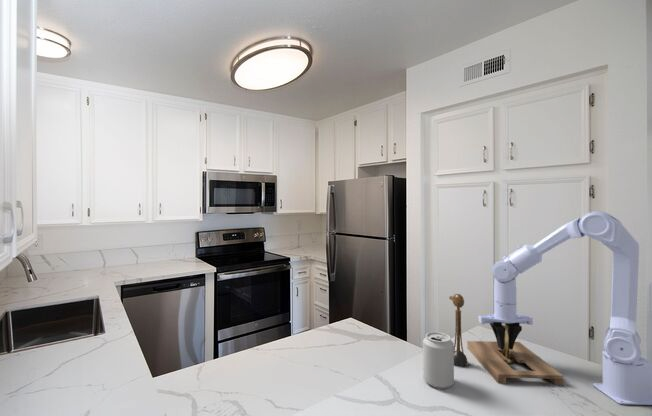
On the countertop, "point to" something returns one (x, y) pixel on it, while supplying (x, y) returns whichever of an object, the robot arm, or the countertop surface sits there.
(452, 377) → the can
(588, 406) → the countertop surface
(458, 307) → the wooden tabletop sculpture
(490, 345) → the keyhole plate
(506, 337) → the peg
